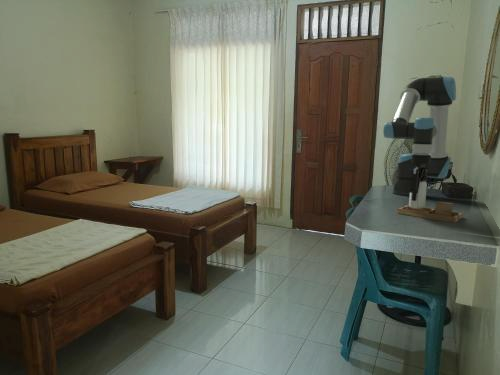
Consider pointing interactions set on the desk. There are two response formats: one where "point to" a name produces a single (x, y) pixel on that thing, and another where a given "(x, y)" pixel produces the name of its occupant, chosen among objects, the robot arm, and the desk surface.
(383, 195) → the desk surface
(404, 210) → the caddy
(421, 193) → the can
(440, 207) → the walnut block
